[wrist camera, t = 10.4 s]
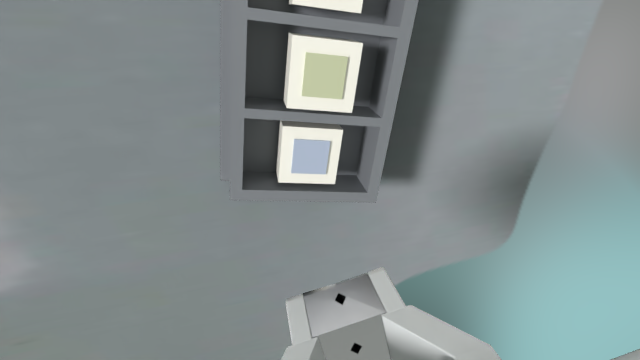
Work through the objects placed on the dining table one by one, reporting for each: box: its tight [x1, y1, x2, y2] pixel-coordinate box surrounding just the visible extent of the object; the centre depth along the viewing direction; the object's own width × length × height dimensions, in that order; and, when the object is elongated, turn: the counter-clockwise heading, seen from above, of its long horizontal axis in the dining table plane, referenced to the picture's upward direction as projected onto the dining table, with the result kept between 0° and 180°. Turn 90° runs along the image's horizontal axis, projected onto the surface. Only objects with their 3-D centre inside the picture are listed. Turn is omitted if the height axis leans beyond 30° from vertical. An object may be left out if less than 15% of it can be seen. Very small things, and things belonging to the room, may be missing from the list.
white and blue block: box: [276, 120, 343, 184], centre depth 25 cm, size 4×4×2 cm
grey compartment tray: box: [220, 0, 419, 203], centre depth 22 cm, size 23×12×5 cm, turn 173°
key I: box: [284, 33, 363, 113], centre depth 21 cm, size 4×4×2 cm
